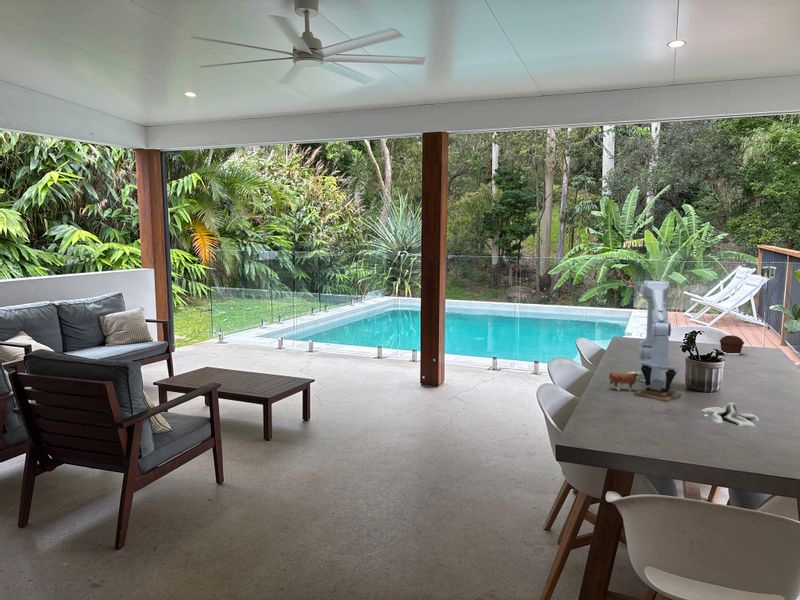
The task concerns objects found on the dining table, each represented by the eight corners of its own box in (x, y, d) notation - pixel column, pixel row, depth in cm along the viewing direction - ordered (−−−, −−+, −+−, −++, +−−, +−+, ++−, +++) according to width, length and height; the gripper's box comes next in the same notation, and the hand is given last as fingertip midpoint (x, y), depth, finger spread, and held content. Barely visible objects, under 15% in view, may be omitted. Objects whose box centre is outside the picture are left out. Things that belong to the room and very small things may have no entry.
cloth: (704, 408, 211) (705, 391, 211) (763, 418, 200) (764, 400, 199) (690, 423, 194) (692, 405, 193) (755, 434, 183) (756, 415, 182)
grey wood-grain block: (655, 391, 229) (655, 378, 229) (665, 393, 226) (666, 380, 226) (649, 393, 226) (650, 380, 225) (660, 395, 223) (660, 382, 222)
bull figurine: (644, 392, 230) (645, 372, 229) (609, 390, 233) (610, 370, 232) (642, 389, 234) (643, 370, 233) (607, 388, 237) (608, 368, 236)
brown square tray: (647, 389, 235) (648, 384, 235) (680, 395, 226) (681, 390, 226) (633, 395, 226) (634, 389, 226) (667, 401, 217) (667, 396, 217)
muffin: (716, 354, 310) (718, 336, 309) (720, 351, 319) (721, 333, 318) (742, 357, 303) (743, 338, 302) (745, 354, 311) (746, 335, 310)
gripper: (636, 351, 227) (635, 385, 228) (674, 356, 216) (672, 392, 218) (644, 349, 231) (642, 382, 233) (682, 354, 221) (680, 389, 222)
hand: (657, 386), depth 226 cm, fingers open, 7 cm apart
